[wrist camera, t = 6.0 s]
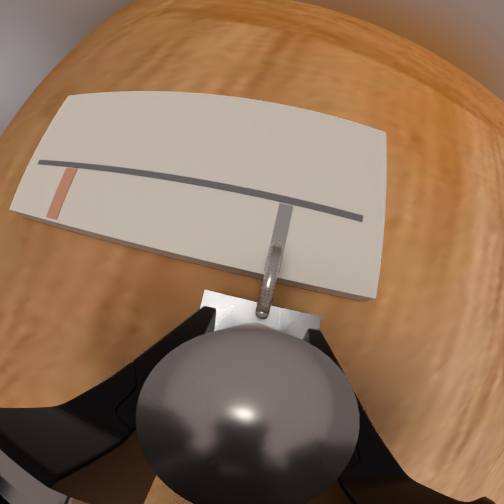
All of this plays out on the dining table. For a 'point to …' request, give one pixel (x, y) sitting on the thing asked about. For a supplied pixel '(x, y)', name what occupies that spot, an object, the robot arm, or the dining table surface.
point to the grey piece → (248, 407)
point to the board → (217, 184)
